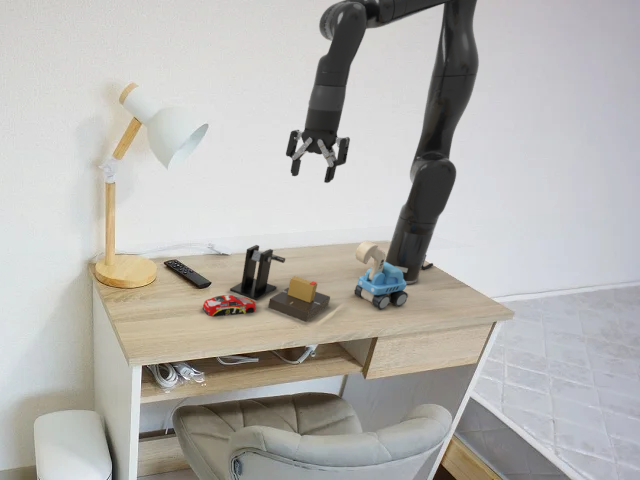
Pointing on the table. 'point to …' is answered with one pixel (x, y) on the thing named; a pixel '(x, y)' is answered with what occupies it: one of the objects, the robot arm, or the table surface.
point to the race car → (228, 305)
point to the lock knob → (302, 289)
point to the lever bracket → (257, 286)
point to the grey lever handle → (257, 253)
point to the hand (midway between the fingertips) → (310, 178)
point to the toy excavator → (379, 278)
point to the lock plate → (298, 305)
